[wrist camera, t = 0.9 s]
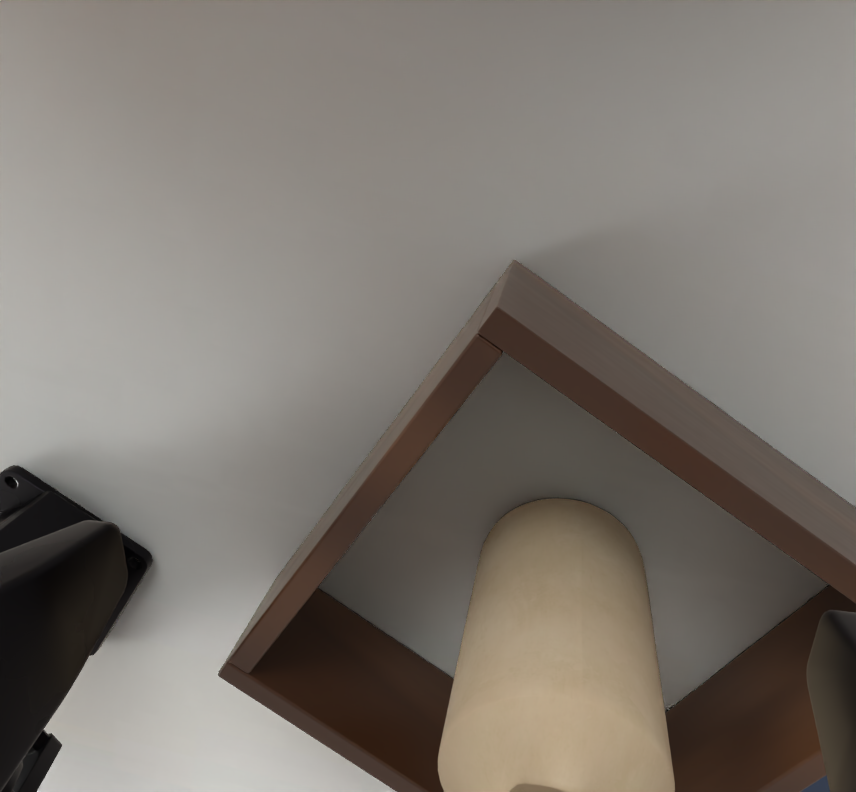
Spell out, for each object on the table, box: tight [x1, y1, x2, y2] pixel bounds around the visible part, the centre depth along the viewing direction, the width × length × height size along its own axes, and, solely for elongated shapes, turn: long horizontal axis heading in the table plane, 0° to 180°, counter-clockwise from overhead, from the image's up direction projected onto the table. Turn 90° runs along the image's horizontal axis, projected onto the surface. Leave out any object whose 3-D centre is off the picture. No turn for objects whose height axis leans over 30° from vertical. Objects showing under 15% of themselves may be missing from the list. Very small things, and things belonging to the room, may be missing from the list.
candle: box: [438, 498, 675, 792], centre depth 20 cm, size 6×6×10 cm
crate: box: [218, 260, 856, 792], centre depth 22 cm, size 15×15×5 cm
